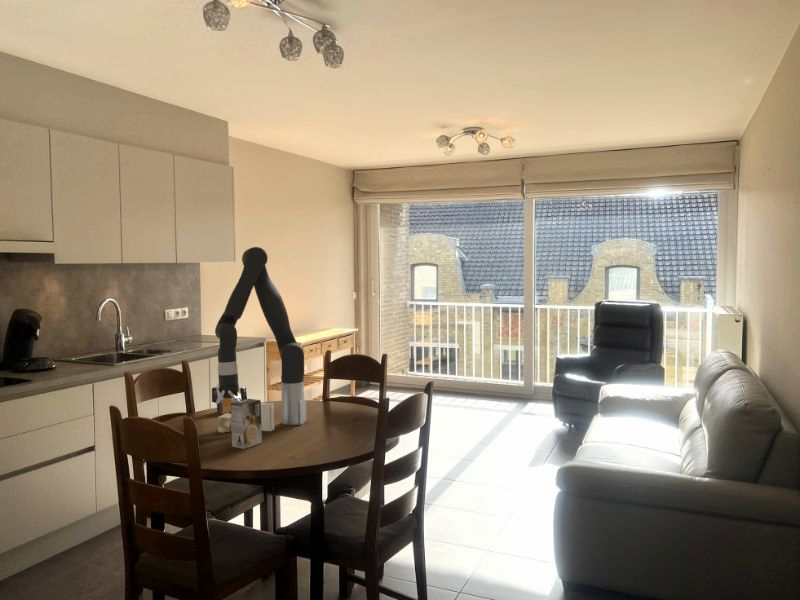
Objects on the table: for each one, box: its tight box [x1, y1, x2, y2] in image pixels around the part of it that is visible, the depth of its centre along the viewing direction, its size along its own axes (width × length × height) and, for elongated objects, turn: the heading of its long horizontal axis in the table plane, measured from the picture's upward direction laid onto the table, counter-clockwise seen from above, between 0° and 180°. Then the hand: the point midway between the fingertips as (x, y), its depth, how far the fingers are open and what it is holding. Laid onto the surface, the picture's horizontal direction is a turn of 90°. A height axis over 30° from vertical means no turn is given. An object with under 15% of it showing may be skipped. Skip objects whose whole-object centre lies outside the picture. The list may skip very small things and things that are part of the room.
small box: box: [216, 382, 240, 415], centre depth 279 cm, size 8×6×13 cm
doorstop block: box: [217, 413, 232, 433], centre depth 246 cm, size 4×7×6 cm, turn 168°
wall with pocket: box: [261, 402, 275, 432], centre depth 245 cm, size 9×3×11 cm, turn 76°
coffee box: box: [231, 398, 263, 450], centre depth 224 cm, size 9×6×16 cm
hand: (230, 413), depth 245 cm, fingers open, 8 cm apart
